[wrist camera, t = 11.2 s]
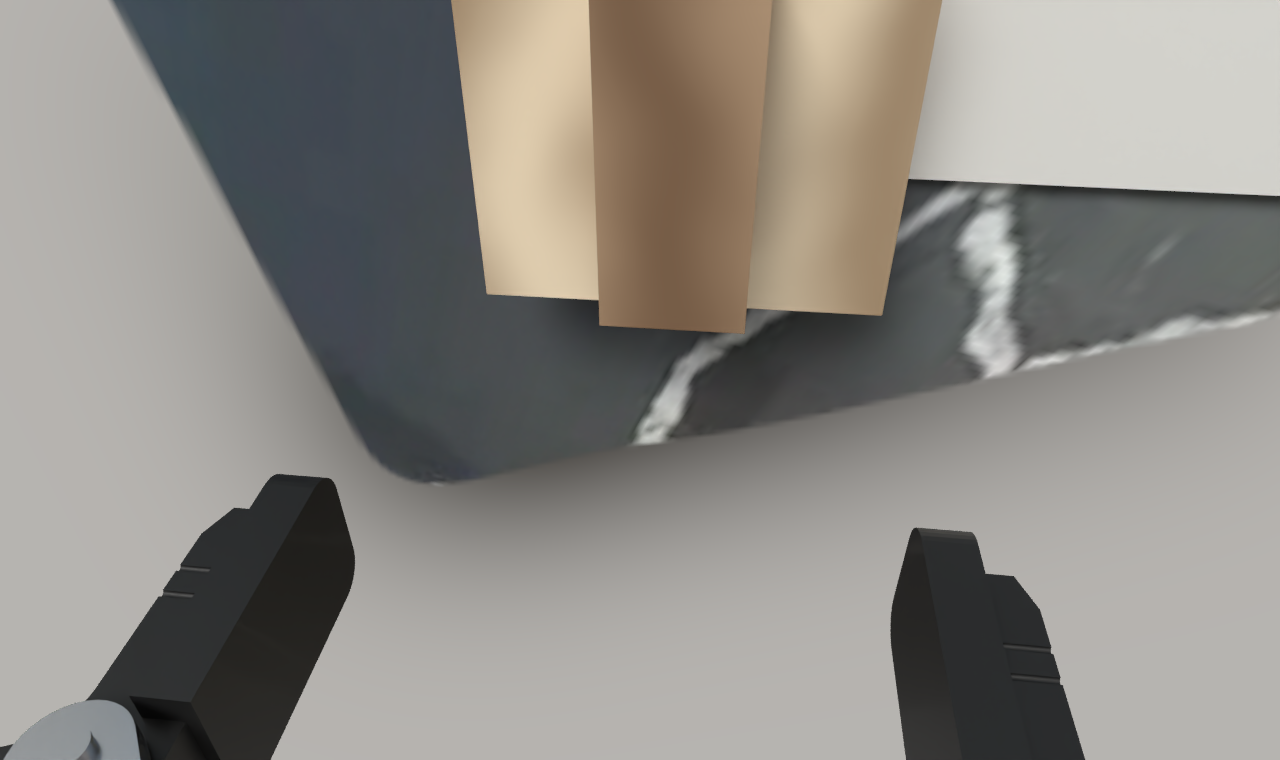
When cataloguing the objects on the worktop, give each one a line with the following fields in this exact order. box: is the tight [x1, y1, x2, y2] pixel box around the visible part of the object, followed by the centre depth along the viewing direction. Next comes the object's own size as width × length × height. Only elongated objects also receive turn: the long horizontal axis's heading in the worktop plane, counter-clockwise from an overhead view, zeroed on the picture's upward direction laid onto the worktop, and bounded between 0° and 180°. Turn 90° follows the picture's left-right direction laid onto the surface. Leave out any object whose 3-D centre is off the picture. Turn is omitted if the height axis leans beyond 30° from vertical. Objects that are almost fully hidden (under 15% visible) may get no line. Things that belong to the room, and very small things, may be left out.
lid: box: [451, 0, 942, 334], centre depth 24 cm, size 13×13×5 cm
